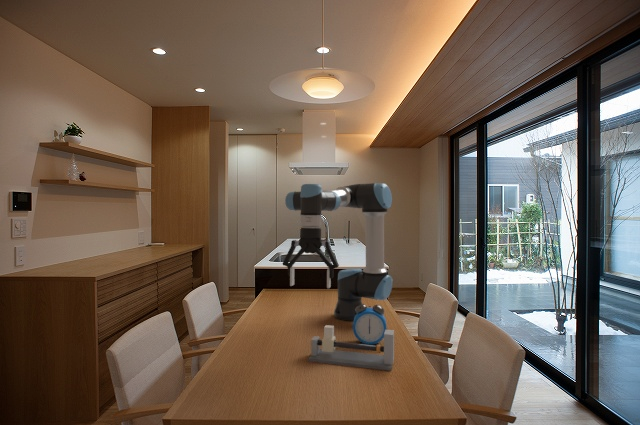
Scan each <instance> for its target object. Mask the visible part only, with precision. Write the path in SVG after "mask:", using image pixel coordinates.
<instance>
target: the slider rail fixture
mask: <svg viewBox="0 0 640 425" xmlns="http://www.w3.org/2000/svg"><path fill="white" fill-rule="evenodd" d="M320 338H321V337H320V336H319V335H317V336H316V335H313V337H312V338H311V339H310V340H311V342H310V346H311V347H310V348H311V349H310V356H309V358H308V362H309V363H310V362H311V363H318V364H327V365H328V364H329V365H336V366H345V367H355V368H361V369H362V368H363V369H370V370H371V369H372V370H380V371H387V372H389V371H390V372H391V371H392V368H393V365H394V360H395V330H394V329H387V330H385V333H384V338H383V345H381V344H379V345H378V344H376V345H375V344H371V345H369V344H365V343H361V344H360V343H355V342H354V343H352V342H344V341H343V342H342V341H336V342H334V347H336V348H341V349H342V348H343V349H350V350H361V351H369V352H370V351H371V352H376V353H368V352H367V353H365V352H355V351H347V350H339V349H338V350H337V349H335V350H334V352H325V351H322V348H321V347H322V339H320ZM320 346H321V347H320ZM377 353H378V354H377ZM381 353H383V354H381Z"/></svg>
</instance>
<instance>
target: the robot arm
mask: <svg viewBox="0 0 640 425" xmlns="http://www.w3.org/2000/svg"><path fill="white" fill-rule="evenodd" d="M392 203H393V196H392V192H391V189H390V187H389V186H388V185H387V183H379V182H375V183H374V182H373V183H372V182H371V183H356V184H350V185H344V186H339V187H337V188H336V189H323V188H322V185H321V184H319V183H305V184H302V185H301V186H300V191H290V192H288V193H287V194H286V196H285V206H286V208H287V209H288V210H289V211H296V212H297V211H300V218H299V219H300V222H299V223H300V224H299V225H300V229H299V231H300V233H299V234H300V235H299V237H300V239H299V240H297V239H294V240H292V241H291V244H290V248H289V250H288V252H287V253H286V255H285V257H284V260H283V262H282V265H283V266H285V267H286V268H287V276H288V277H289V286H290V287H292V286H294V285H295V266H294V264H296V262H297V261H298V260H299V259H300V257H301V256H302V255H303V254H304V253H305V254H317V255H318V256H319V258H320V259H321V260H322V262H323V263H324V264H325V265H326V266H327V268H328V269H327V270H326V288H327V289H330V288H331V286H332V285H331V284H332V281H331V279H333V278H334V276H335V275H334V273H335V272H334V269H337V268H339V266H340V264H339V263H338V260H337V258H336V255H335V254H334V251H333V250H332V247H331V241H329V240H327V241H322V228H321V227H322V212H323V211H324V212H325V211H327V212H333V211H337V210H338V209H339V208H352V209H361V213H362V214H363V215H364V217H365V222H364V223H365V226H364V227H365V267H364V268H363V269H362V268H346V269H342V270H339V271H338V273H337V302H336V305H335V308H334V311H333V317H334V318H335V319H338V320H341V321H349V322H350V321H351V322H352V321H354V317H355V315H356V314H357V313H356V312H355V309H356V307H357V306H358V305H360V304H363V302H362V298H366V299H371V300H374V301H385V300H387V299H388V298H389V296H390V294H391V293H392V289H393V284H394V283H393V277H392V275H388V272H389V271H388V269H387V268H386V267H385V216H386V215H387V213H388V209H390V208H391V206H392ZM298 246H299V247H300V249H299V251H298V252H297V253H296V254H295V256H294V257H293V258H292V256H293V253H294V252H295V250H296V247H298ZM322 246H323V247H324V248H325V250H326V252H327V254H328V256H329V258H330V259H329V258H328V257H327V256H326V254H325V253H324V251H323V250H322V249H321V248H322ZM291 258H292V259H291Z"/></svg>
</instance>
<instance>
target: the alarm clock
mask: <svg viewBox="0 0 640 425" xmlns="http://www.w3.org/2000/svg"><path fill="white" fill-rule="evenodd" d="M355 312H356V313H357V314H356V315H355V317H354V321H353V322H352V331H353V334H354V336H355V338H356V339H357V340H358V341H359V342H360V343H359V344H364V345H375V344H376V345H380V344H379V343H381V341H383V340H384V333H385V330H388V328H387V320H386V317H385V316H384V314H385V309H384V307H383V306H382V305H381V304H374V305H373V306H371V305H369V306H368V307H367V305H366V304H364V303H362V304H360V305H358V306H357V307H356V309H355Z"/></svg>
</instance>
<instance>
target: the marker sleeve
mask: <svg viewBox="0 0 640 425" xmlns="http://www.w3.org/2000/svg"><path fill="white" fill-rule="evenodd" d="M336 337H337V336H336V335H335V326H334V325H327V324H326V325H325V326H324V328H323V337H322V339H321V340H322V346H321V349H322V351H325V352H334V350H336V348H337V347H334V342H337V341H336V340H337V338H336Z"/></svg>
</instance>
